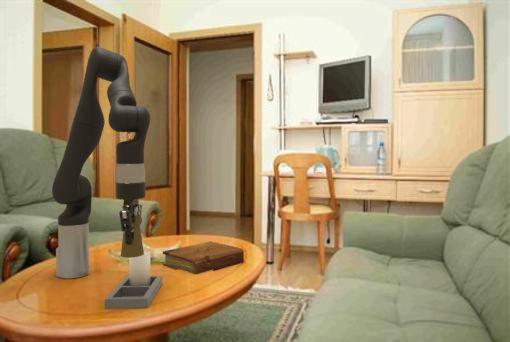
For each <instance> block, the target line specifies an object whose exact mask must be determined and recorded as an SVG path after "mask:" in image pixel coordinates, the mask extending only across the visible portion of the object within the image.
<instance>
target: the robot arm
mask: <svg viewBox="0 0 510 342" xmlns="http://www.w3.org/2000/svg"><path fill="white" fill-rule="evenodd" d="M86 63H87V64H86V67H85V73H84V78H83V84H82V88H81V91H80V92H81V93H80V97H79V100H78V103H77V107H76V110H75V113H74V117H73V120H72V124H71V128H70V131H69V136H68V140H67V143H66V146H65V150H64V153H63V157H62V159H61V162H60V165H59V167H58V170H57V172H56V175H55V178H54V180H53V182H52V187H51V192H52V193H51V194H52V198H53V199H54V201H55V202H56V203H58V204H60V205H66V206H65V208H64V210H63V212H61V214H59V215H58V217H57V227H58V228H57V232H58V233H57V234H58V235H57V236H58V246H57V247H56V249H55V263H56V264H55V267H56V268H55V273H56V275H55V276H56V278H61V279H78V278H83V277H86V276H87V275H89V274H90V228H89V226H90V225H89V224H90V222H89V219H90V216H91V213H92V200H93V199H92V198H93V197H92V196H93V195H92V192H93V191H92V185H91V183H90V180H89V179H88V177H86V176H84V175H82V170H83V167H84V165H85V164H86V161H87V160H88V159H89V157H90V156H91V155H92V154H93V152H94V151H95V149H96V148H97V147H98V145H99V143H100V142H101V138H102V135H103V131H104V127H105V116H104V112H103V110H102V107H101V104H100V101H99V98H98V91H97V83H98V79H101V80H103V81H107V82H110V84H109V85H108V86H107V90H106V95H107V96H106V97H107V99H108V103H109V106H110V109H109V113H108V124H109V127H110V128H111V129H112V130H113V131H115V132H117V133H134V137H132V139H130V140H125V141H119V142H118V143H117V144H116V146H115V148H116V151H115V152H116V153H115V154H116V157H115V158H116V161H115V162H116V168H115V191H116V192H115V198H116V199H118V200H122V201H123V202H122V203H123V205H122V206H121V210H119V212H118V213H119V219H120V220H119V221H120V226H121V231H122V232H123V231H124V232H125V245H132V238H133V241H134V231H135V229H134V223H136V216H137V214H139V215H140V216H141V217H142V208H143V205H142V204H139V203H140V202H139V200H142V199H144V198H146V196H147V195H146V170H145V143H146V139H147V134H148V131H149V127H150V123H151V115H150V111H149V110H148V109H147V108H146V107H144V106H140V105H138V104H137V100H136V97H135V94H134V92H133V90H132V87H131V83H130V74H129V73H130V72H129V66H128V62H127V60H126V58H125V56H123V55H121V54H119V53H117V52H114V51H111V50H108V49H107V48H103V47H101V46H95V47H93V48H92V50H91V51H90V54H89V56H88V59H87V62H86ZM133 217H134V219H133V220H131V218H133ZM126 224H129V227H127V226H126ZM129 241H130V242H129Z"/></svg>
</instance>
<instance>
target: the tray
mask: <svg viewBox="0 0 510 342" xmlns="http://www.w3.org/2000/svg"><path fill="white" fill-rule="evenodd" d="M162 285H163V275H151V286H129V275H126V276H125V277H123V279H122V280H121V281H120V282H119V283H118V284H117V285H116V286H115V287H114V288H113V289H112V291H110V293H108V295H107V296H106V297H105V298H104V310H110V309H112V310H113V309H115V310H116V309H117V310H118V309H119V310H120V309H122V310H123V309H124V310H125V309H149V307H150V305H151V304H152V302H153V301H154V299H155V297H156V295H157V294H158V292H159V290H160V289H161V287H162Z"/></svg>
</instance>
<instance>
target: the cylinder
mask: <svg viewBox="0 0 510 342" xmlns="http://www.w3.org/2000/svg"><path fill="white" fill-rule="evenodd" d="M143 250H144V255H142V256H138V257H130V258H128V266H129V267H128V274H129V275H128V276H129V286H151V276H152V275H151V273H152V272H151V251H150V250H147V249H143Z"/></svg>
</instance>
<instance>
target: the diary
mask: <svg viewBox="0 0 510 342" xmlns="http://www.w3.org/2000/svg"><path fill="white" fill-rule="evenodd" d="M162 255H165V256H164V257H165V259H164V260H165V263H162V266H163V265H164V266H163V267H166V266H167V267H166V268H170V269H172V270H178V271H181V270H185V271H188V272H190V273H193V275H198V274H202V273H207V272H209V271H216V270H221V269H224V268H227V267H230V266H235V265H238V264H241V263H243V262H244V260H245V259H244V258H245V256H244V255H245V251H244V249H243V248H241V247H237V246H233V245H228V244H225V243H219V242H216V241H206V242H202V243H195V244H191V245H187V246H183V247H178V248H177V247H176V248H172V249H168V250H164V251H162Z"/></svg>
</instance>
